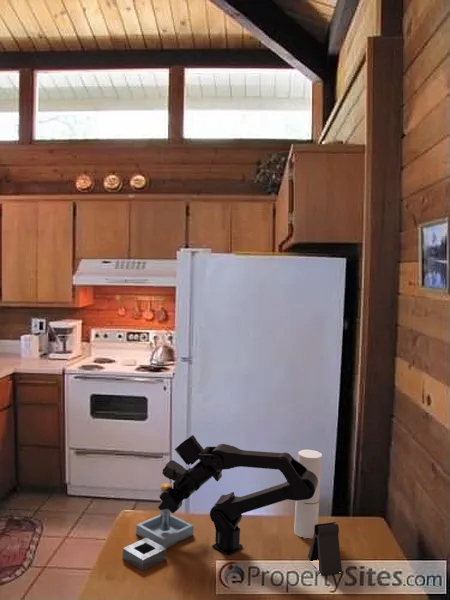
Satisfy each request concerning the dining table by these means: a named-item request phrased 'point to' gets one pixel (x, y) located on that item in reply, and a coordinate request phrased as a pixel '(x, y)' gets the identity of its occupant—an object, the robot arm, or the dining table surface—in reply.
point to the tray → (165, 538)
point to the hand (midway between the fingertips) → (161, 506)
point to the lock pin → (165, 512)
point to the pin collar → (141, 560)
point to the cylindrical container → (310, 508)
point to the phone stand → (326, 548)
